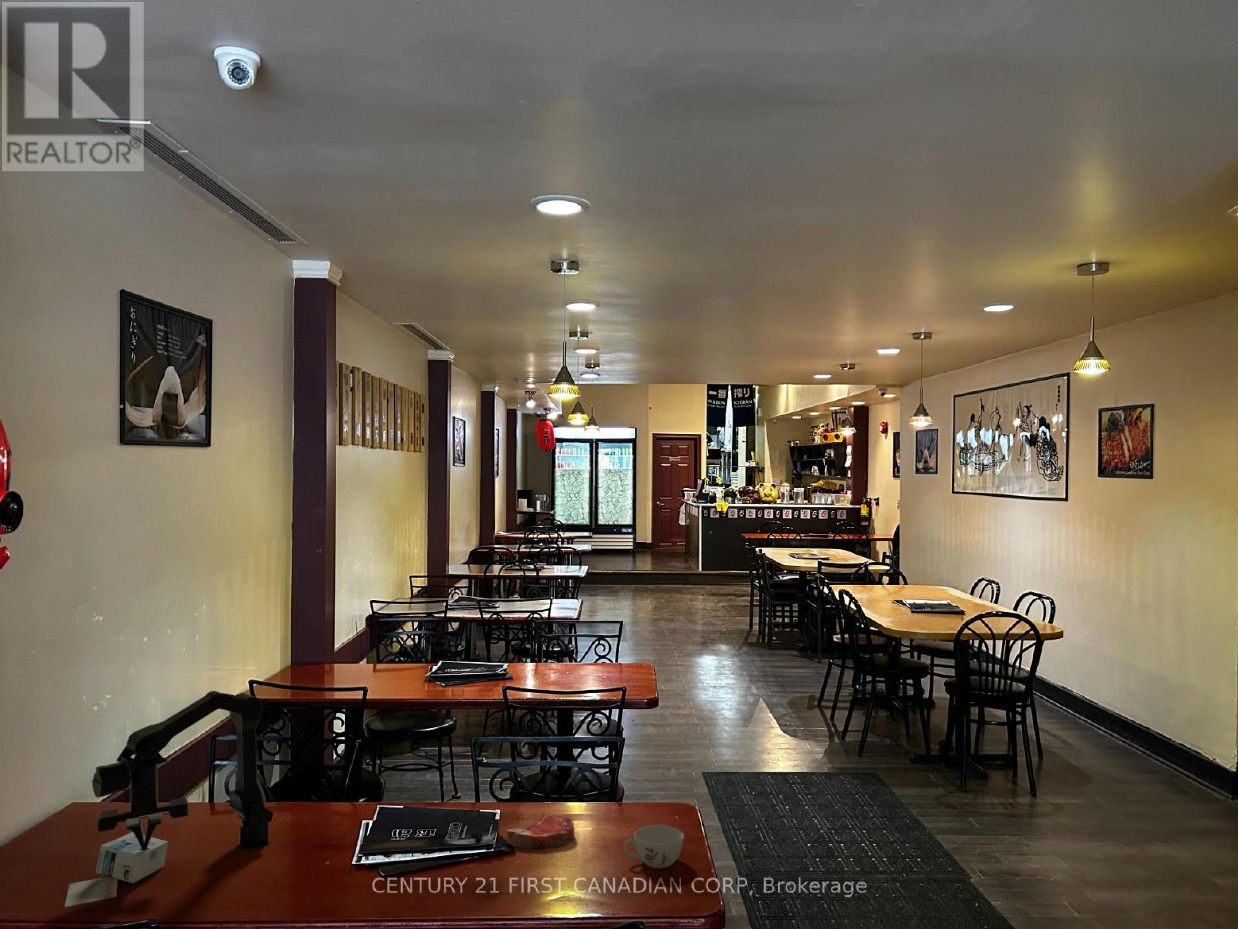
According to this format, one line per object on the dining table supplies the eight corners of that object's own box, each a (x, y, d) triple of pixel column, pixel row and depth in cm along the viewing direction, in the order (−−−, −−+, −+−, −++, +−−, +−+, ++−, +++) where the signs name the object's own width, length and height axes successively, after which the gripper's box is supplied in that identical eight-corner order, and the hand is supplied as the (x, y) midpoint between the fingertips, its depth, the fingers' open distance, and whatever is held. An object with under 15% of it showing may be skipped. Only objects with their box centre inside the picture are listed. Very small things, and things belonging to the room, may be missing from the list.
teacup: (679, 853, 220) (679, 822, 220) (687, 876, 208) (687, 843, 208) (621, 855, 219) (622, 824, 219) (626, 878, 207) (626, 845, 207)
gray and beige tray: (118, 876, 206) (118, 870, 206) (116, 898, 196) (116, 891, 196) (69, 885, 202) (69, 879, 202) (64, 908, 191) (64, 902, 191)
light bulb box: (138, 856, 201) (99, 845, 203) (132, 885, 201) (93, 873, 203) (169, 840, 212) (132, 830, 214) (164, 868, 211) (126, 857, 213)
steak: (581, 825, 239) (581, 805, 239) (598, 858, 219) (598, 837, 219) (492, 834, 233) (492, 814, 233) (500, 869, 213) (501, 847, 213)
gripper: (186, 767, 215) (187, 828, 216) (100, 780, 207) (101, 844, 207) (187, 781, 206) (188, 846, 206) (97, 796, 197) (98, 864, 197)
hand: (144, 849), depth 204 cm, fingers closed
